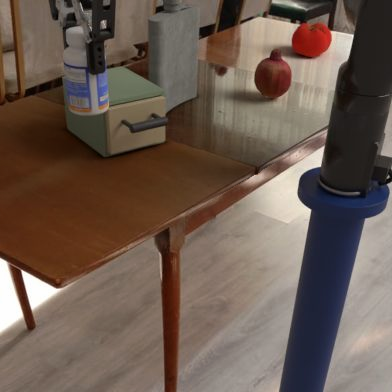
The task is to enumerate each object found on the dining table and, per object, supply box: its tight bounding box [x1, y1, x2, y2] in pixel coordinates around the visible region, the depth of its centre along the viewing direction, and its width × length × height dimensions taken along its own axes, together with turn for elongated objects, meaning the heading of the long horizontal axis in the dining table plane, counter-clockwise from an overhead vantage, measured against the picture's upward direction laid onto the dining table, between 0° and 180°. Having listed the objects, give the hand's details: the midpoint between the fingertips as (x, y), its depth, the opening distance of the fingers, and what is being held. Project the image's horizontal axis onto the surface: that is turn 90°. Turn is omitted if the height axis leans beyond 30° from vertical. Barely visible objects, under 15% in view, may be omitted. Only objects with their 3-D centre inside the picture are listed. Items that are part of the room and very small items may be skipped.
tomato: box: [291, 22, 333, 58], centre depth 159 cm, size 10×11×6 cm
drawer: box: [105, 96, 169, 154], centre depth 112 cm, size 18×11×8 cm, turn 35°
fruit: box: [253, 48, 293, 99], centre depth 132 cm, size 8×8×10 cm
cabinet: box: [61, 65, 165, 158], centre depth 115 cm, size 15×13×10 cm
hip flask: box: [147, 0, 201, 115], centre depth 124 cm, size 16×4×20 cm, turn 150°
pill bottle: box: [62, 25, 109, 116], centre depth 81 cm, size 5×5×10 cm
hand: (85, 66), depth 80 cm, fingers closed on pill bottle, 5 cm apart
